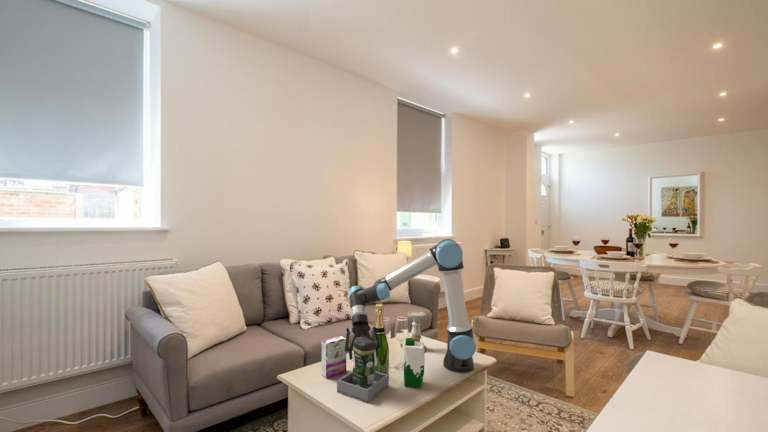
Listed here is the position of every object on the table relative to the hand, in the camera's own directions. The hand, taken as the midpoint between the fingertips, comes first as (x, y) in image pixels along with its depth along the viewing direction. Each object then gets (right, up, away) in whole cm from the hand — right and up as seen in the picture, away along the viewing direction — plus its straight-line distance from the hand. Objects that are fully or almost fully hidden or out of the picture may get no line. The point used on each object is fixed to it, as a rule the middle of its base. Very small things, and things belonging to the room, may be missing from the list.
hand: (364, 365), depth 156 cm
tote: (-1, -11, +3) cm, 12 cm away
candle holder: (+26, -12, +51) cm, 58 cm away
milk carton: (+21, -12, +9) cm, 26 cm away
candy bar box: (-16, -11, +18) cm, 26 cm away
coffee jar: (-1, -8, +3) cm, 9 cm away
